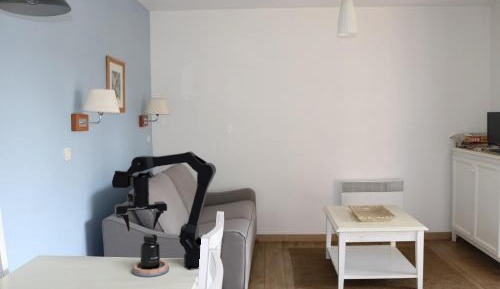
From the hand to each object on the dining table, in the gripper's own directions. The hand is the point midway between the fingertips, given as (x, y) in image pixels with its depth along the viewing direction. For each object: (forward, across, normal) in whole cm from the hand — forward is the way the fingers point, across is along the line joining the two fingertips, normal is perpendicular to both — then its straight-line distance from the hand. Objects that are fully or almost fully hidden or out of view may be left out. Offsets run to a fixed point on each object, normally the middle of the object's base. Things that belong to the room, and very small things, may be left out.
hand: (141, 230), depth 163 cm
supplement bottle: (+12, -2, +9) cm, 15 cm away
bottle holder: (+13, -2, +9) cm, 16 cm away
